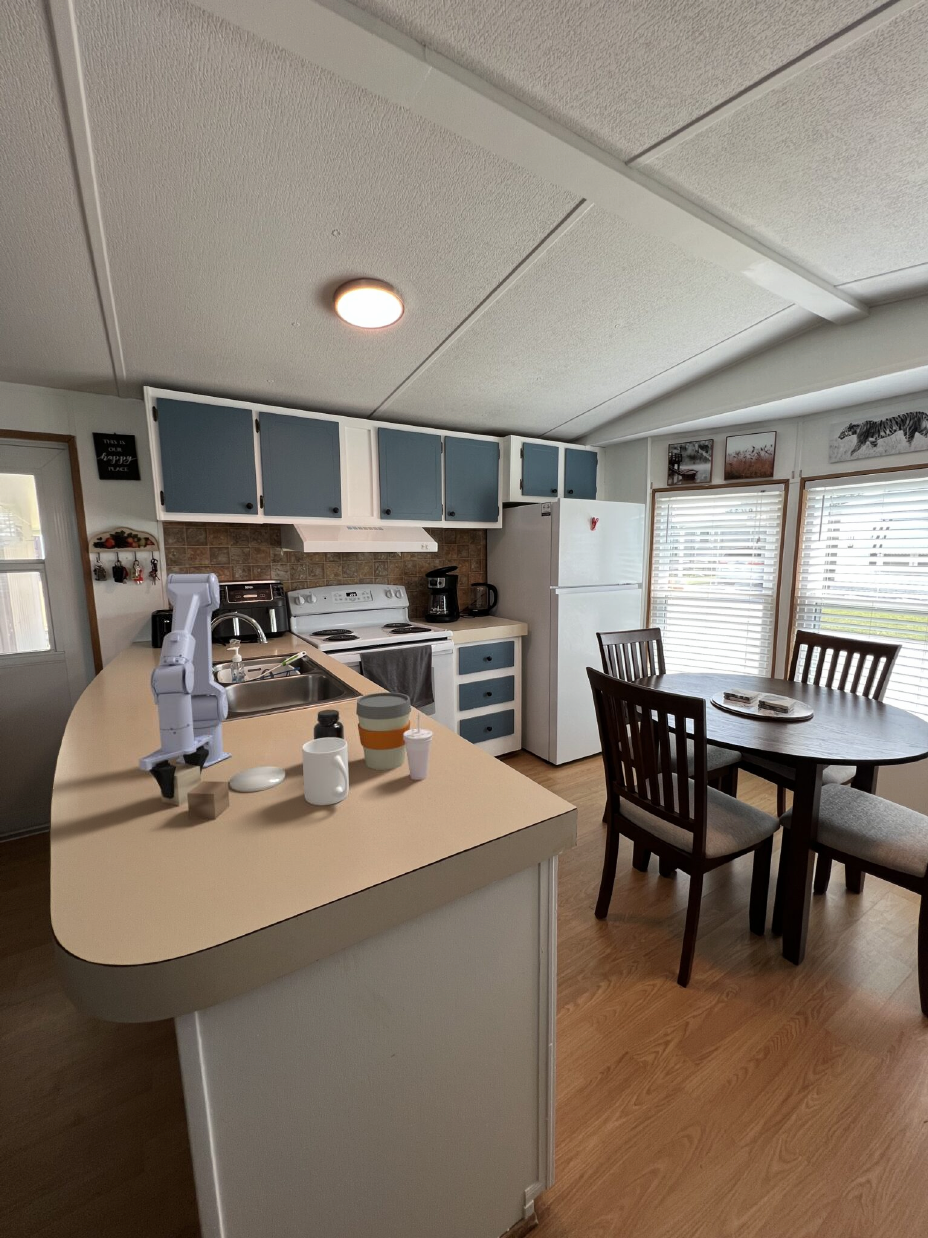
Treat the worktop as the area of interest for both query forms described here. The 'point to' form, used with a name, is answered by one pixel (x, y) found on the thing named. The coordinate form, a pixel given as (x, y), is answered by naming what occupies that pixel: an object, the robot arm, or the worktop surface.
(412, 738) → the smoothie
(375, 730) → the reusable coffee cup
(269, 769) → the coaster
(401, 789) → the worktop surface
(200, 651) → the robot arm
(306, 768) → the mug
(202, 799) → the walnut block
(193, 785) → the beech block
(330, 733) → the supplement bottle
